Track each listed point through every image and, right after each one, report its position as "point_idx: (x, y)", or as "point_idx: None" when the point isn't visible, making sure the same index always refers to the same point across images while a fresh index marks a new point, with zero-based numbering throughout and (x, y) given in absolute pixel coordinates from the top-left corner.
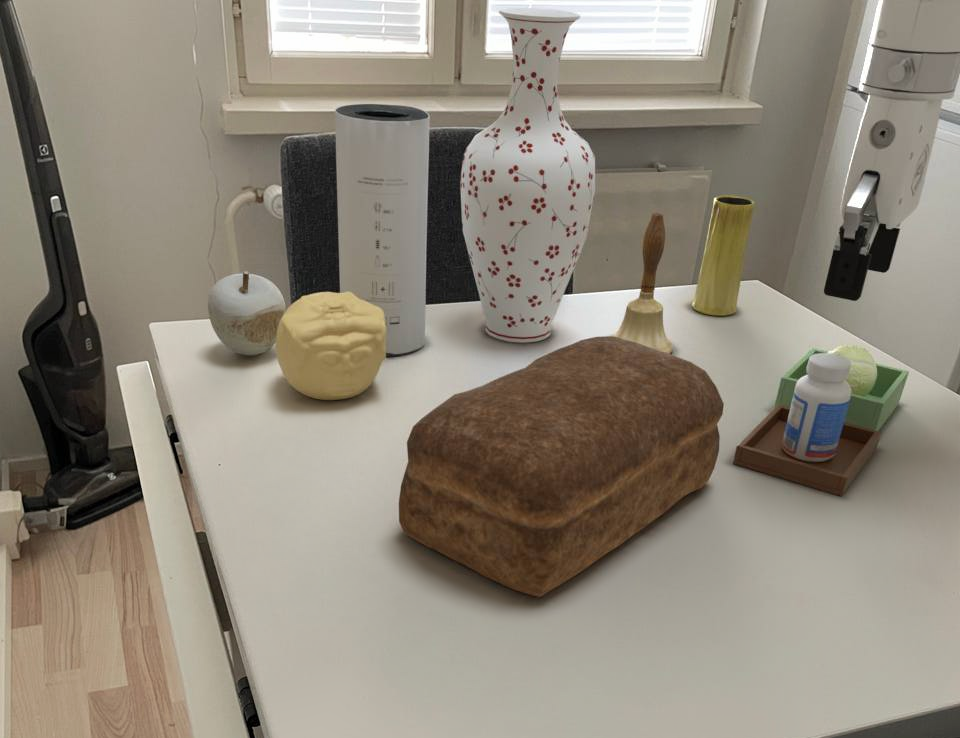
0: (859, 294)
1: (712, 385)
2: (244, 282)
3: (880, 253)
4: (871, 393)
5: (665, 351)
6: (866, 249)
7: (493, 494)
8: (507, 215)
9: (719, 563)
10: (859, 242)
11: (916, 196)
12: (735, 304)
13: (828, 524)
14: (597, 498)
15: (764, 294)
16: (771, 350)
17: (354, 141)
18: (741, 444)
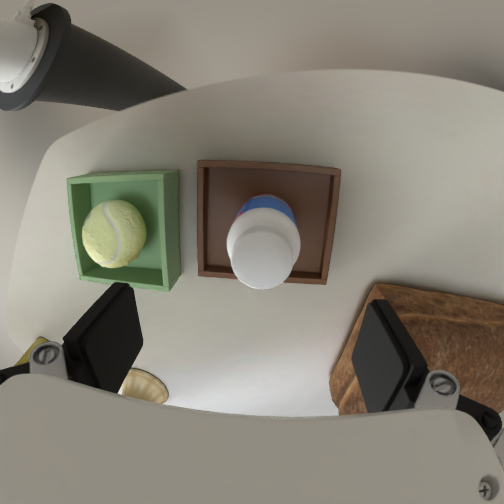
0: (389, 305)
1: (424, 347)
2: None
3: (119, 327)
4: (90, 202)
5: (142, 374)
6: (457, 382)
7: None
8: None
9: (469, 237)
10: (474, 405)
11: (87, 462)
12: (38, 341)
13: (393, 171)
14: None
15: (9, 322)
16: (68, 303)
17: None
18: (320, 282)
